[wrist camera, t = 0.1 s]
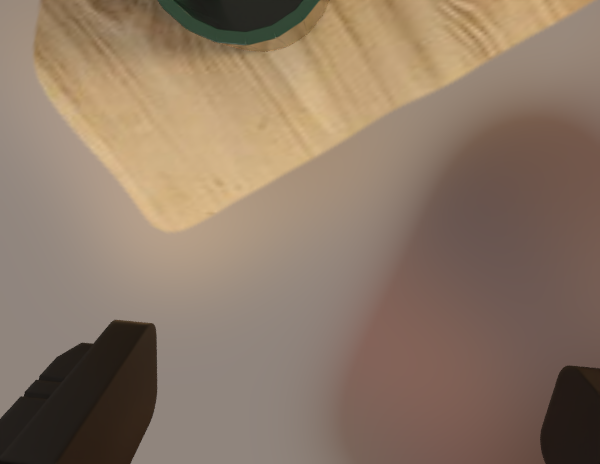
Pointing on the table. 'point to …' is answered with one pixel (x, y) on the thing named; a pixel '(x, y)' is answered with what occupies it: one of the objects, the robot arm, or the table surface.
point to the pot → (248, 20)
